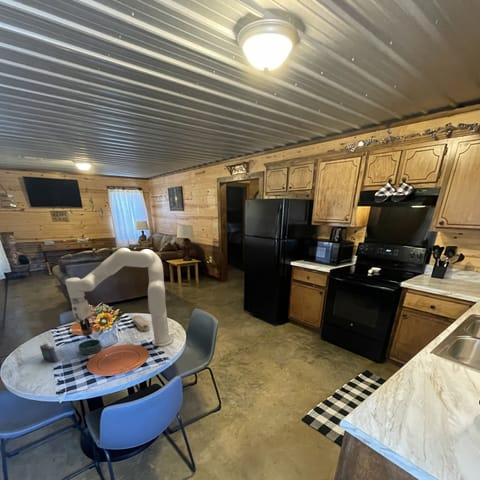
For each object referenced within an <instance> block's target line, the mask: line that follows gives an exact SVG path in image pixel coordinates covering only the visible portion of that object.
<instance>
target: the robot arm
mask: <svg viewBox="0 0 480 480" xmlns="http://www.w3.org/2000/svg"><path fill="white" fill-rule="evenodd" d="M123 267H132V268H147V270H148V286H147V302H148V303H147V304H148V305H147V306H148V312H149V313H150V317H151V318H150V319H151V325H152V332H153V339H152V340H151V341H152V344H153V346H156V347H165V346H168V345H170V344H171V343H172V342H173V338H172V336H174V335H175V332H174V331H172V332H170V331H169V323H168V313H167V305H166V304H167V303H166V286H165V278H164V276H165V275H164V266H163V262H162V259H161V258H160V257H159V255H158V254H157V253H156V252H154V251H153V250H152V249H148V248H145V249H142V250H139V251H138V250H130V249H129V248H128V247H120V248H118V249H117V250H116V251H115V252H113V253H112V254H111V255H109V256H108V257H107V258H106V259H104V260H103V261H102V262H101V263H100V264H99V265H98V266H97V267H96V268H94V269H93V270H92V271H90V273H88V274H87V275H85V276H84V277H83V278H79V277H69V278H67V279H65V286H66V290H67V293H68V297H69V300H70V303H71V309H72V310H71V311H72V314H73V317H74V320H75V323H77V324H79V325H80V328H81V329H82V330H87V326H86V323H85V321H84V319H86V320H87V324H88V327H91V323H90V316H91V315H92V310H91V307H90V304H89V301H88V299H87V298H86V295H85V292H92V291H93V290H95V288H96V287H97V286H98V285H100V284H101V283H102V282H103V281H105V280H106V279H107V278H109V277H110V276H113V275H114V274H116V273H117V272H119V271H120V270H121V269H122V268H123ZM81 320H82V321H81ZM81 329H80V330H81Z"/></svg>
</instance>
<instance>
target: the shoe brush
mask: <svg viewBox="0 0 480 480" xmlns="http://www.w3.org/2000/svg"><path fill="white" fill-rule="evenodd" d="M131 318H132V322H133V324H134V325H135V326H136V327H137V328H138V330H139V331H141V332H147V331H149V330H150V323H149V322H148V321H147V320H146V319H145V318H144V317H143V316H141V315H134V316H132V317H131Z"/></svg>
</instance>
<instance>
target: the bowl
mask: <svg viewBox="0 0 480 480" xmlns="http://www.w3.org/2000/svg"><path fill="white" fill-rule="evenodd" d="M102 346H103V345H102V342H101V340H99V339H87V340H84V341H82V342H80V343H79V344H78V345H77V348H78V352H79V354H81V355H83V356H85V355H86V356H88V355H95V354H96V353H99V352H100V351H101V350H102V348H103V347H102Z"/></svg>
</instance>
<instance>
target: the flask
mask: <svg viewBox="0 0 480 480" xmlns="http://www.w3.org/2000/svg"><path fill="white" fill-rule="evenodd" d="M39 348H40V351H41V354H42V358H43V361H45V362H52V363H54V362H58V357H57V353H56V349H55V346H50V345H48V343H43V344H41V345H40V346H39Z"/></svg>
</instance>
